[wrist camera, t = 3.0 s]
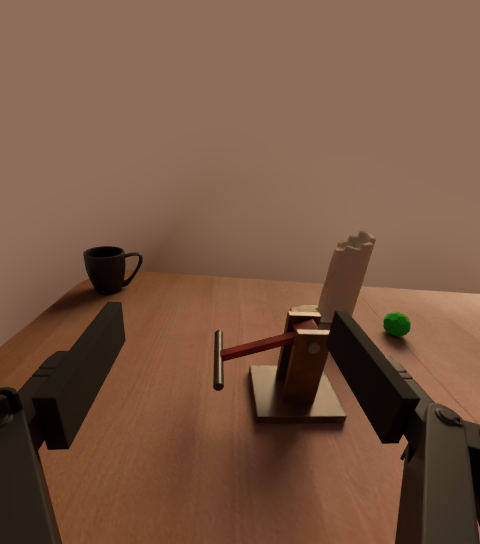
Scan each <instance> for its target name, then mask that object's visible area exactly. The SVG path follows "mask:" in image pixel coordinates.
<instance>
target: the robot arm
mask: <svg viewBox="0 0 480 544" xmlns="http://www.w3.org/2000/svg"><path fill="white" fill-rule="evenodd" d="M124 342H125V331H124V322H123V313H122V303H121V302H107V303H106V305H105V306H104V307H103V309H102V310H101V311H100V312H99V314H98V315H97V316H96V317H95V319H94V320H93V321H92V322H91V324H90V325H89V326H88V327H87V329H86V330H85V331H84V333H83V334H82V335H81V336H80V338H79V339H78V340H77V341H76V343H75V344H74V345H73V346H72V348H71V349H70V350H69V351H57V352H56V353H54V354H53V355H51V356H50V357H48V358H47V359H46V360H45V361H44V362H43V363H42V365H41V366H40V367H39V369H37V370H36V371H35V373H34V374H33V375H32V377H30V378H29V380H28V381H27V382H26V383H25V384H24V385H23V386H22V388H21V389H20V390H19V391H18V392H17V391H16V390H15V389H14V388H10V387H4V388H0V544H62V541H61V537H60V533H59V530H58V526H57V522H56V518H55V514H54V510H53V506H52V502H51V499H50V495H49V491H48V487H47V483H46V479H45V475H44V471H43V467H42V464H41V460H40V456H39V453H38V450H39V448H40V447H41V445H42V444H43V442H44V440H45V442H46V446H47V449H48V450H56V449H69V448H70V446H71V444H72V442H73V440H74V438H75V436H76V434H77V432H78V431H79V429H80V427H81V425H82V423H83V421H84V419H85V417H86V415H87V413H88V411H89V409H90V408H91V406H92V404H93V402H94V400H95V398H96V396H97V394H98V392H99V390H100V388H101V386H102V385H103V383H104V381H105V379H106V377H107V375H108V373H109V371H110V369H111V367H112V365H113V363H114V362H115V360H116V358H117V356H118V354H119V352H120V350H121V348H122V346H123V344H124ZM326 347H327V348H328V350H329V352H330V354H331V355H332V357H333V359H334V361H335V362H336V364H337V366H338V367H339V369H340V371H341V373H342V374H343V376H344V378H345V380H346V381H347V383H348V385H349V387H350V388H351V390H352V392H353V394H354V395H355V397H356V399H357V401H358V402H359V404H360V406H361V407H362V409H363V411H364V413H365V414H366V416H367V418H368V420H369V421H370V423H371V425H372V427H373V428H374V430H375V432H376V434H377V435H378V437H379V439H380V440H381V442H382V444H390V443H399V441H400V439H401V437H402V435H403V434H404V436H405V437H406V439H407V440H408V442H409V443H408V445H407V446H406V448H405V450H404V452H403V454H402V456H401V458H400V459H401V460H404V458H405V461H404V470H403V478H402V487H401V496H400V504H399V513H398V522H397V531H396V539H395V544H480V541H479V532H478V524H477V520H478V523H479V526H480V425H479V424H476V423H472V422H468V421H464V420H462V418H461V417H460V416H459V415H458V414H457V413H455V412H454V411H453V410H451V409H449V408H448V407H446V406H444V405H441V404H437V403H435V402H434V401H433V400H432V399H431V398H430V397H429V396H428V395H427V393H426V392H425V391H424V390H423V389H422V388H421V387H420V386H419V384H418V383H417V382H416V381H415V380H413V378H412V377H411V375H410V374H409V373H407V371H406V370H405V369H404V368H403V366H402V365H401V364H400V363H398V362H397V361H396V360H394V359H393V358H391V357H385V356H384V355H383V354H382V352H381V351H380V350H379V349H378V348H377V346H376V345H375V344H374V343H373V342H372V341H371V339H370V338H369V337H368V336H367V335H366V333H365V332H364V331H363V330H362V329H361V328H360V326H359V325H358V324H357V323H356V322H355V320H354V319H353V318H352V317H351V316H350V314H349V313H348V312H347V311H335V313H334V316H333V320H332V324H331V327H330V331H329V335H328V338H327V342H326Z"/></svg>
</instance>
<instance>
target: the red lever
mask: <svg viewBox="0 0 480 544" xmlns="http://www.w3.org/2000/svg"><path fill="white" fill-rule="evenodd" d="M293 329H294V331H293V332H289V333H286V334H282V335H278V336H274V337H270V338H266V339H263V340H259V341H255V342H251V343H247V344H243V345H240V346H236V347H232V348H228V349H224V350H223V333H222V331H220V330H218V331H216V332H215V341H214V377H213V388H214V389H215V390H216V391H220V390H222V389H223V387H224V377H223V361H227V360H230V359H234V358H238V357H242V356H246V355H250V354H254V353H258V352H261V351H265V350H269V349H273V348H277V347H281V346H285V345H288V344H292V343H293V341H294V337H295V332H296V329H307V330H319V329H318V327H317V325H316V324H315V322H314V320H313V319H312V320H308V321H305V322H301V323H297V324H293Z"/></svg>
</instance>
